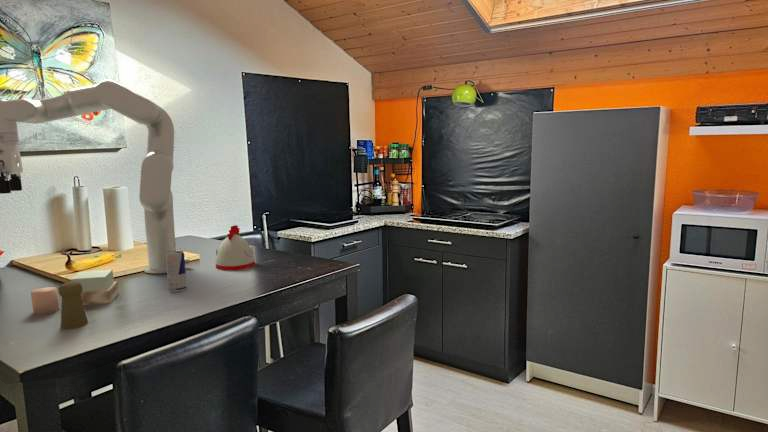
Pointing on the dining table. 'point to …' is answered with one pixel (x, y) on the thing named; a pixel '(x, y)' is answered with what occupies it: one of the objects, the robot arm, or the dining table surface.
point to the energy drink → (176, 271)
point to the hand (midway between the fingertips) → (10, 191)
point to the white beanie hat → (234, 252)
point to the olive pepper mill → (72, 306)
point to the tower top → (94, 280)
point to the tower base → (100, 295)
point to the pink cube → (44, 300)
